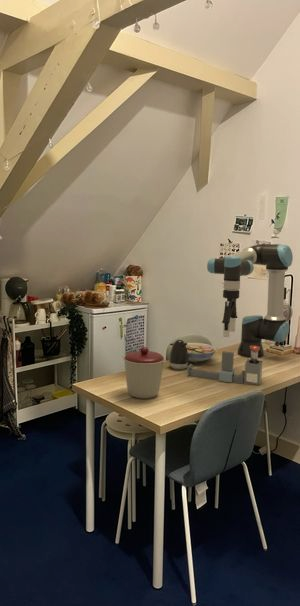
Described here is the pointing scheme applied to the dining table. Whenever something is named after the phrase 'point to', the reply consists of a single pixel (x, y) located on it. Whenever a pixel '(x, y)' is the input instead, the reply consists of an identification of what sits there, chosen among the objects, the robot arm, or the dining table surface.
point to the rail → (213, 374)
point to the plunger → (254, 353)
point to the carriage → (227, 367)
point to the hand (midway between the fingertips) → (229, 334)
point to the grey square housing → (253, 372)
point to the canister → (143, 372)
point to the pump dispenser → (179, 355)
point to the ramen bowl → (199, 351)
